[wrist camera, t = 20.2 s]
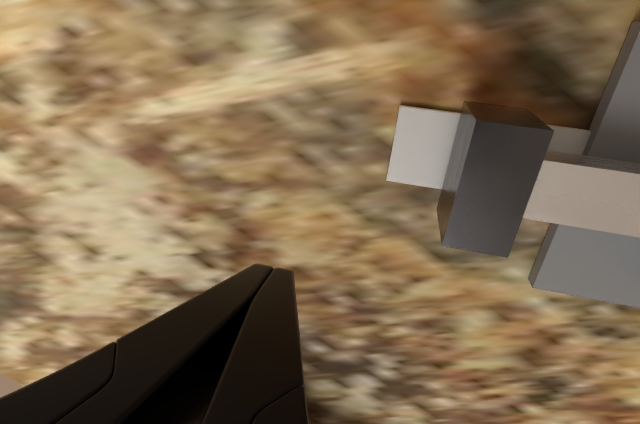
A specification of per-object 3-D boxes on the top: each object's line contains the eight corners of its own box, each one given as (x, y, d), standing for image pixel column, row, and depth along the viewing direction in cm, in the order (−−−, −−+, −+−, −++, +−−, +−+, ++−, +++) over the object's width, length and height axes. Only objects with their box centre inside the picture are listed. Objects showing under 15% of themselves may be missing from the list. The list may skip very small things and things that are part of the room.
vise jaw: (846, 90, 14) (967, 111, 11) (709, 295, 18) (768, 351, 15) (477, 49, 16) (493, 57, 13) (427, 245, 20) (431, 286, 17)
